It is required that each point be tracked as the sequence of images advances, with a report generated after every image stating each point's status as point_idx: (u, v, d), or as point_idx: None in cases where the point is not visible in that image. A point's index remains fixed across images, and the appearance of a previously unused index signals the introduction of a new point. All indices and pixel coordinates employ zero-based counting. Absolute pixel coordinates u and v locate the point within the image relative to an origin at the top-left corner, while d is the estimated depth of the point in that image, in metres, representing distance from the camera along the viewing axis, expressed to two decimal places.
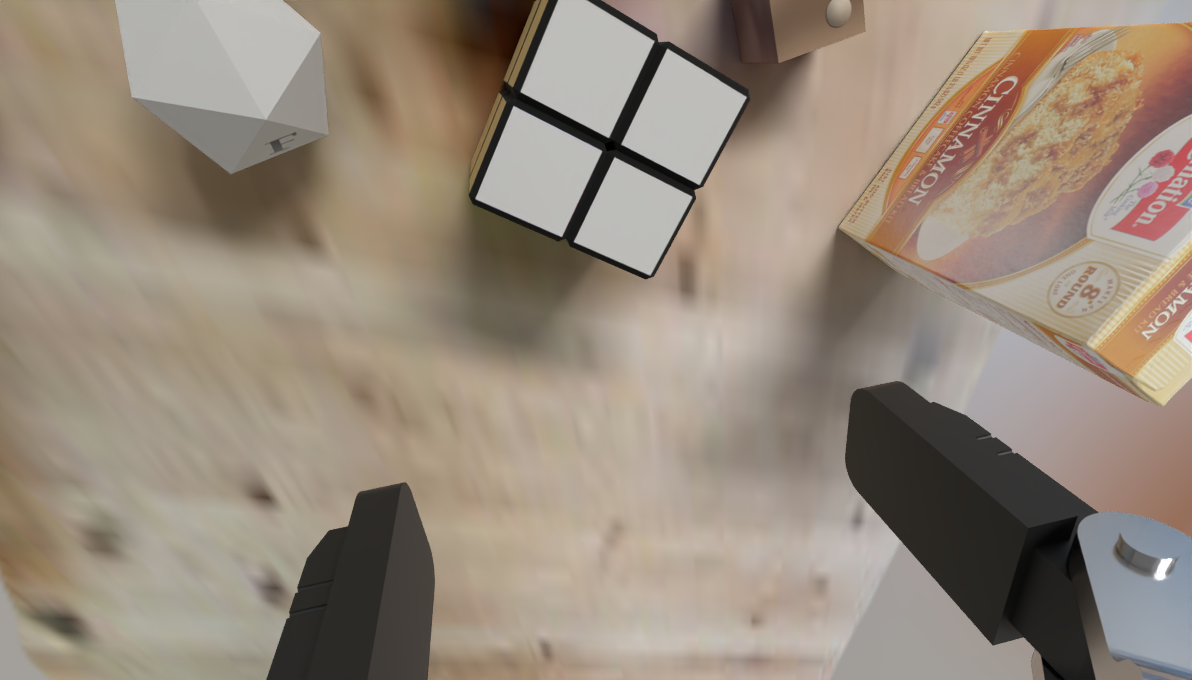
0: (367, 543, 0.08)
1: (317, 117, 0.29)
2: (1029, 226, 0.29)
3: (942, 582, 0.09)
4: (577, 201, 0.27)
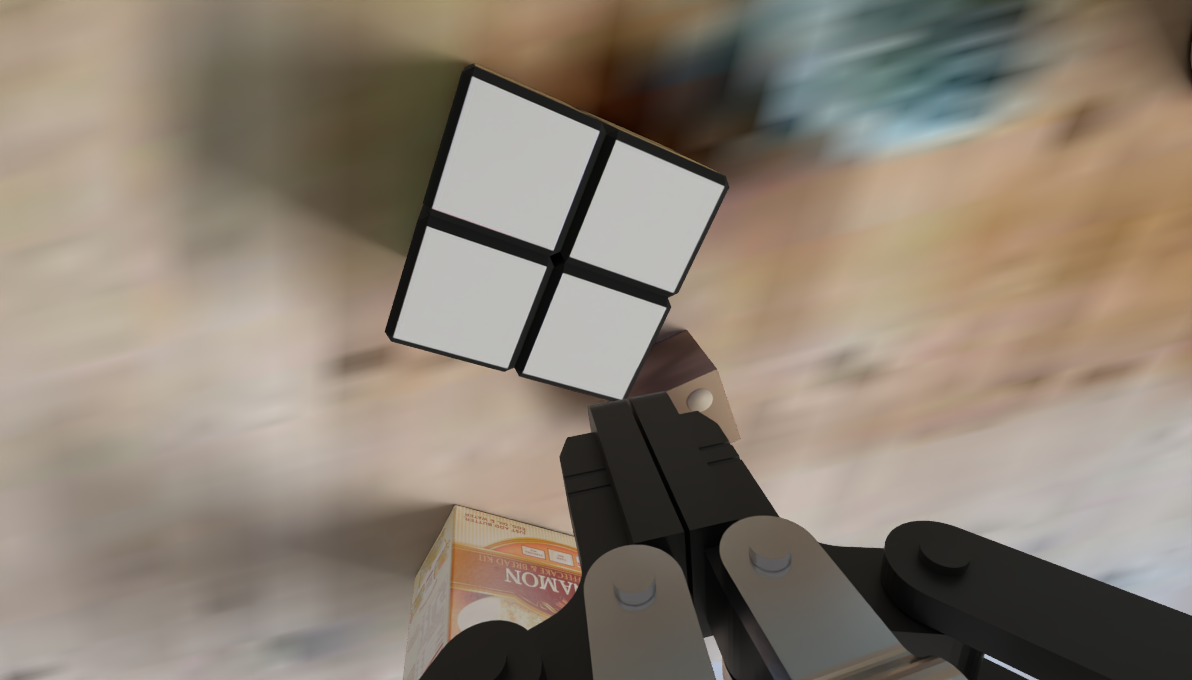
0: (622, 439, 0.09)
1: None
2: None
3: None
4: (485, 225, 0.20)
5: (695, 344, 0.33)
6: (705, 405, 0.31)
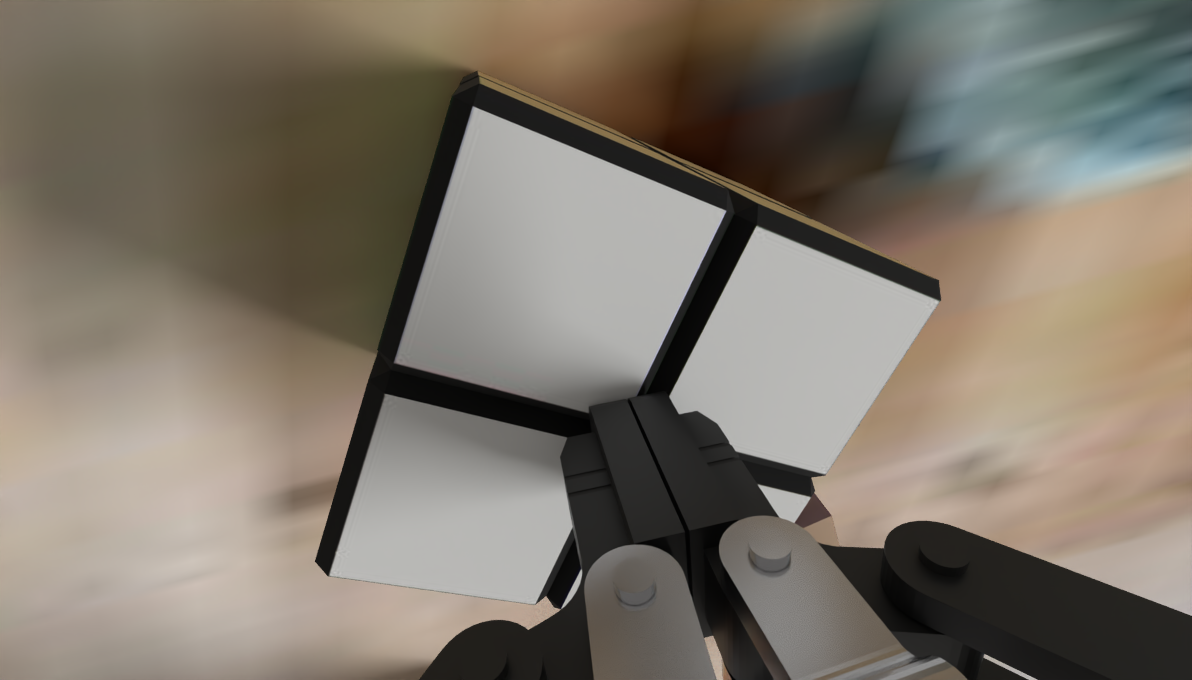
0: (623, 439, 0.09)
1: None
2: None
3: None
4: (498, 386, 0.10)
5: None
6: None
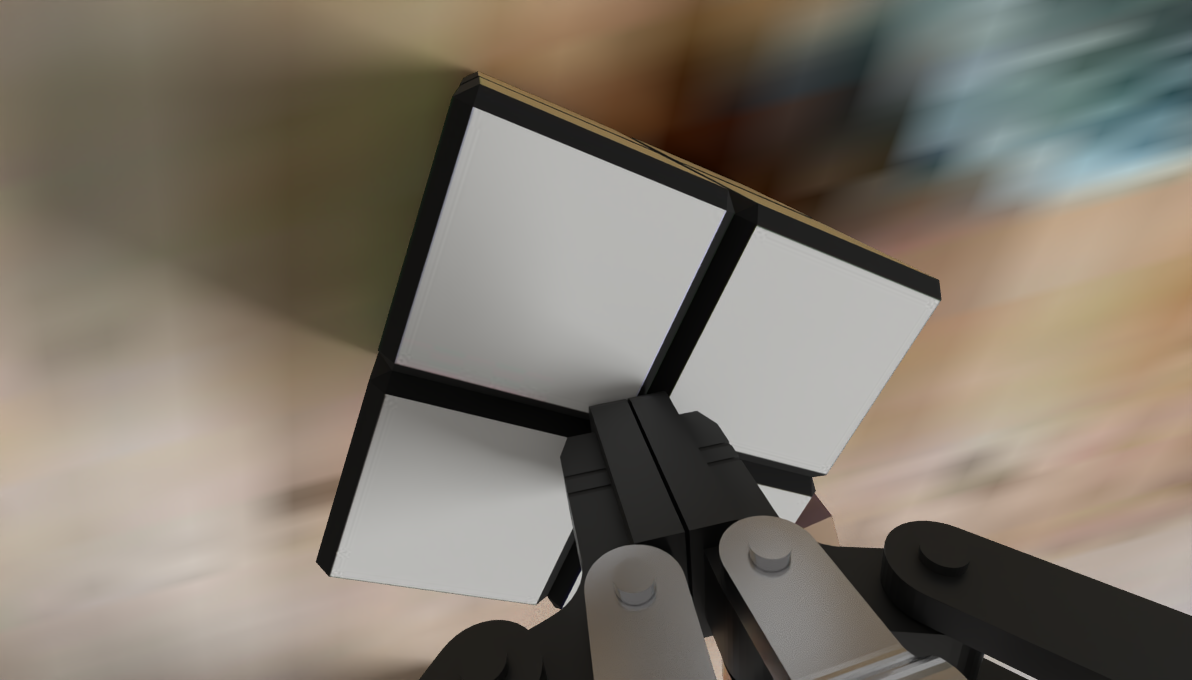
0: (623, 439, 0.09)
1: None
2: None
3: None
4: (499, 386, 0.10)
5: None
6: None
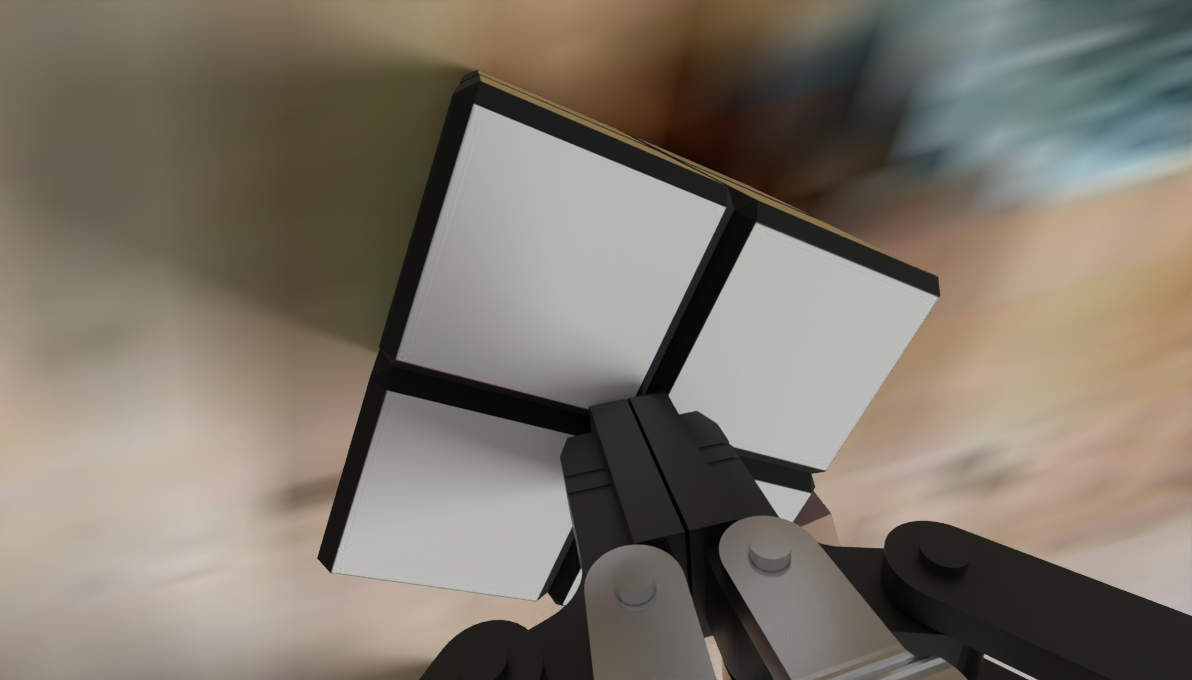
0: (622, 439, 0.09)
1: None
2: None
3: None
4: (499, 382, 0.11)
5: None
6: None
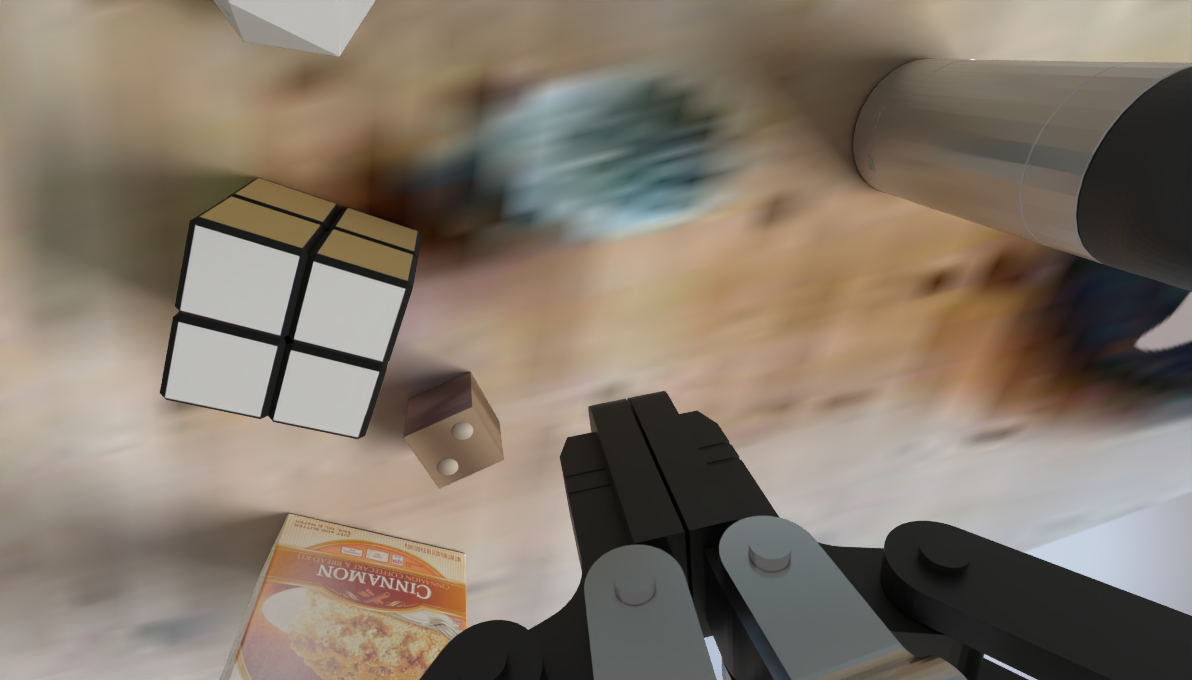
0: (622, 439, 0.09)
1: (257, 38, 0.28)
2: (303, 675, 0.35)
3: None
4: (224, 320, 0.28)
5: (469, 384, 0.42)
6: (468, 434, 0.40)
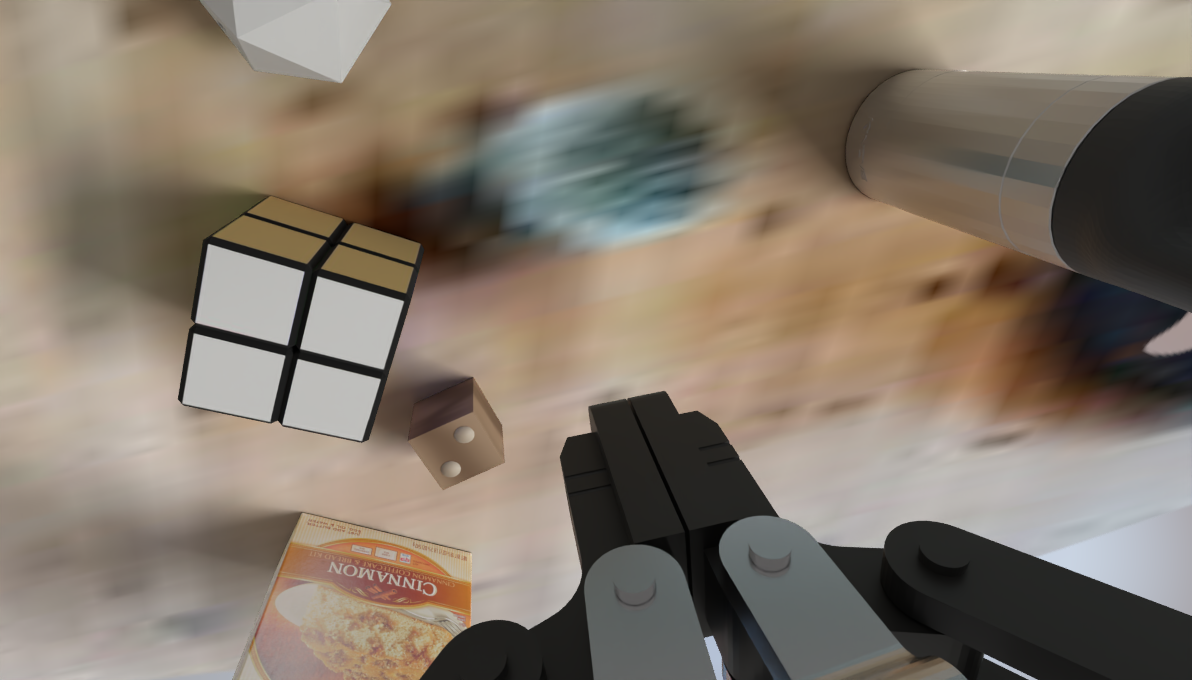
0: (622, 439, 0.09)
1: (265, 67, 0.30)
2: (313, 666, 0.37)
3: None
4: (235, 331, 0.30)
5: (471, 390, 0.43)
6: (469, 438, 0.41)
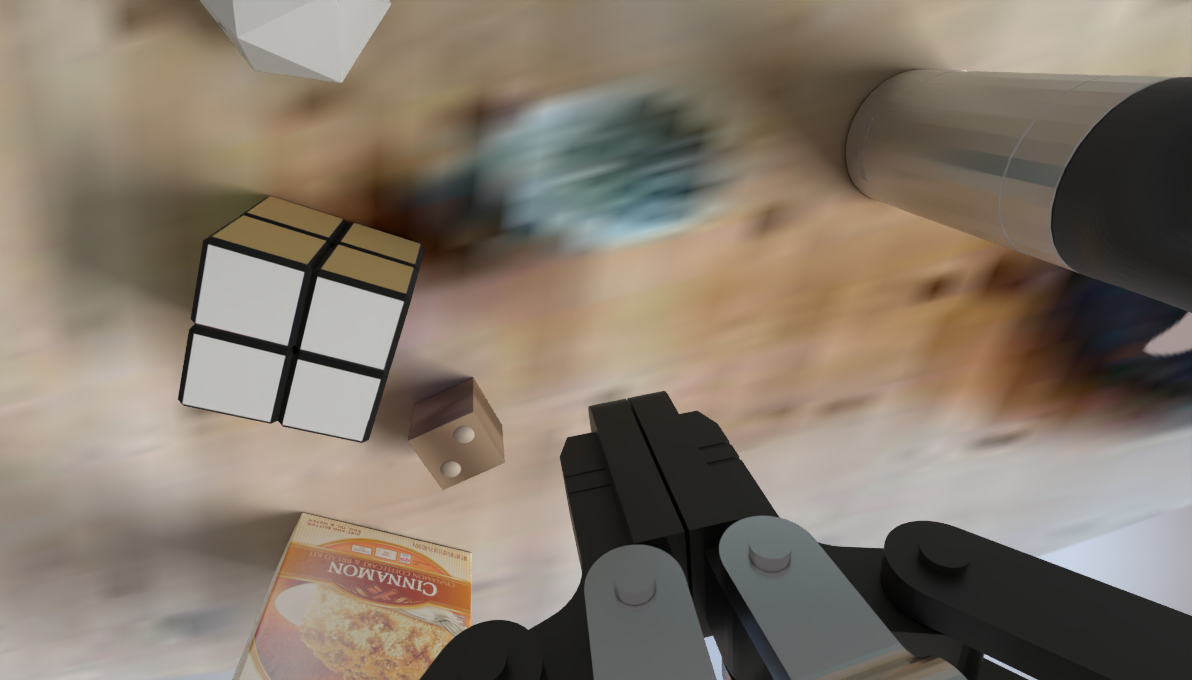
0: (622, 439, 0.09)
1: (265, 67, 0.30)
2: (313, 666, 0.37)
3: None
4: (235, 331, 0.30)
5: (471, 390, 0.43)
6: (469, 438, 0.41)
